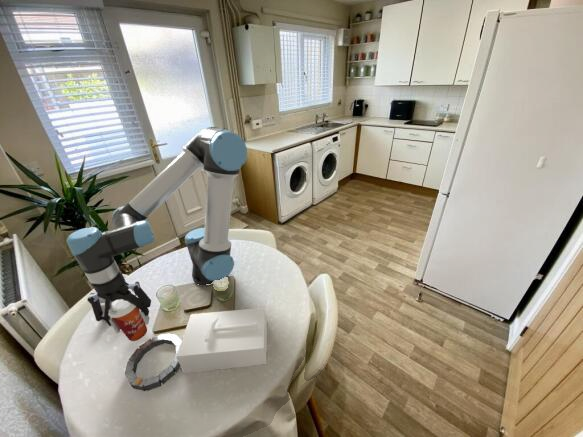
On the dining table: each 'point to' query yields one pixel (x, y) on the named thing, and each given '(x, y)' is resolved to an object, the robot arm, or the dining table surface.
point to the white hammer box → (224, 340)
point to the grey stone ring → (138, 355)
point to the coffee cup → (128, 319)
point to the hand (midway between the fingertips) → (133, 325)
